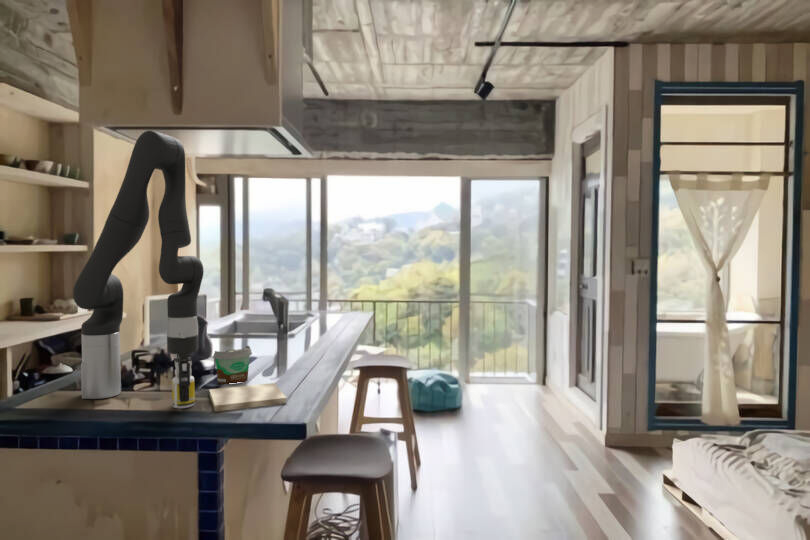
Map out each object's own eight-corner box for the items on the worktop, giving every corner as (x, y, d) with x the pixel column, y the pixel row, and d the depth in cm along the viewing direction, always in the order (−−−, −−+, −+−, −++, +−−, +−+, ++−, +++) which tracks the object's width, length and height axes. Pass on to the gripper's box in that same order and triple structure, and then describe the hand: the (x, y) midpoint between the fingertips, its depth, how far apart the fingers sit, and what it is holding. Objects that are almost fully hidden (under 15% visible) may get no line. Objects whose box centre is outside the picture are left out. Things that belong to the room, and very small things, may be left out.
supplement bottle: (199, 404, 146) (198, 367, 146) (183, 410, 141) (182, 372, 141) (184, 401, 148) (183, 365, 148) (167, 407, 144) (166, 369, 143)
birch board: (215, 411, 140) (215, 405, 140) (209, 394, 155) (209, 389, 155) (286, 403, 148) (286, 397, 148) (274, 388, 162) (274, 383, 162)
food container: (226, 388, 162) (225, 354, 161) (213, 384, 166) (213, 351, 165) (260, 379, 172) (260, 347, 171) (247, 376, 175) (247, 345, 175)
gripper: (166, 330, 149) (167, 392, 150) (167, 339, 136) (168, 407, 137) (196, 328, 152) (197, 389, 153) (200, 337, 139) (201, 403, 140)
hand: (183, 397), depth 145 cm, fingers open, 6 cm apart
